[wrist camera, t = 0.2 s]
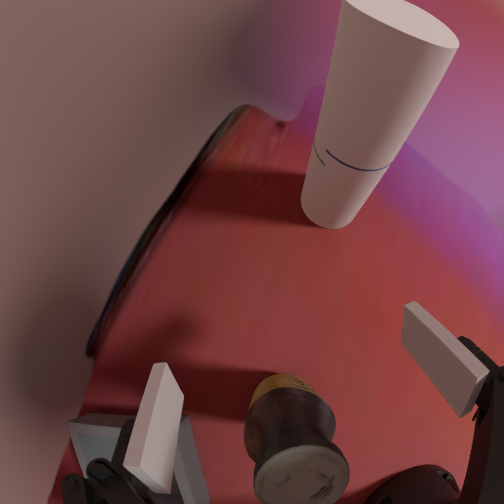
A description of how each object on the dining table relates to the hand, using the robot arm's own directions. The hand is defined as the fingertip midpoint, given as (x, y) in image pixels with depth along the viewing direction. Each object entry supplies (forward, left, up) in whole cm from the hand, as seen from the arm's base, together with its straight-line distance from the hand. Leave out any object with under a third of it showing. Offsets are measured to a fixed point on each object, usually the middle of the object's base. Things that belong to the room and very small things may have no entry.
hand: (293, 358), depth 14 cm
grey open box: (-13, +18, -15) cm, 27 cm away
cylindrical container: (+15, -9, -16) cm, 24 cm away
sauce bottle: (-6, +1, -16) cm, 17 cm away
